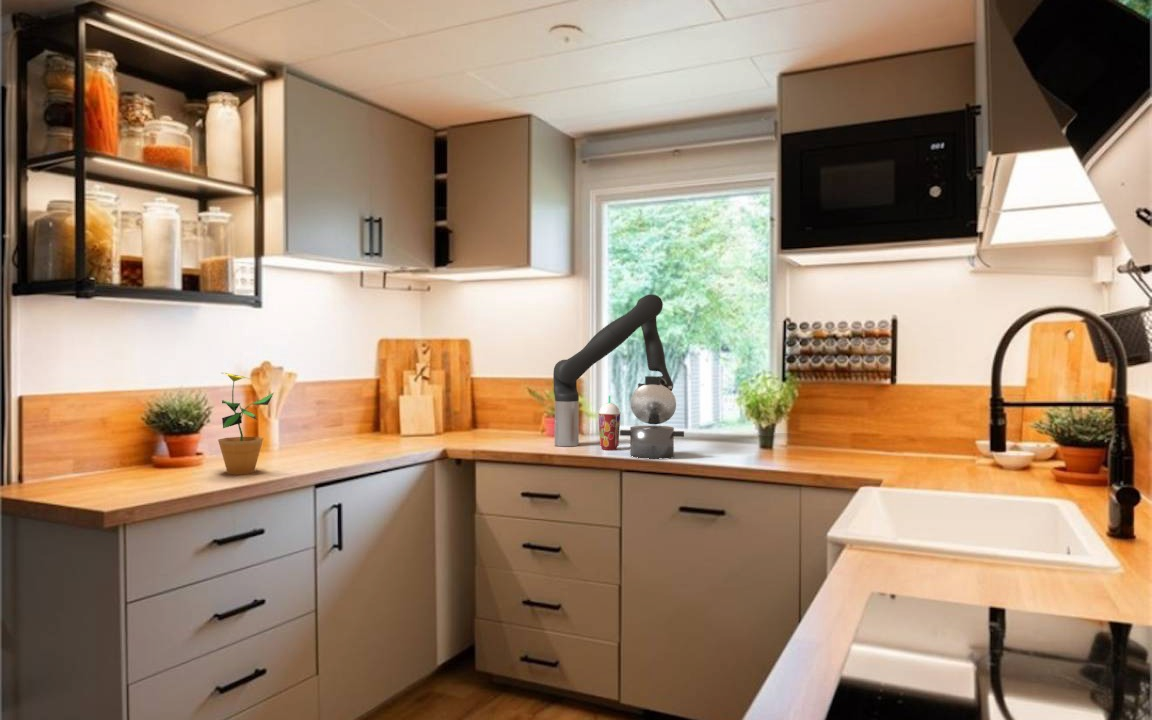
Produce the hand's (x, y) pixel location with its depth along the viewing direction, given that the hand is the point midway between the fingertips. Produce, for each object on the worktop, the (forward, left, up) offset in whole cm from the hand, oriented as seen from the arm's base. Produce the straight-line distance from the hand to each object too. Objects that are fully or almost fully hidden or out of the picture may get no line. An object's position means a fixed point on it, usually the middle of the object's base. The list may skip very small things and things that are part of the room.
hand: (653, 387), depth 272 cm
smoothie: (-15, +15, -24) cm, 32 cm away
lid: (0, 0, -5) cm, 5 cm away
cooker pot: (-1, -4, -24) cm, 24 cm away
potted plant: (-127, -42, -24) cm, 136 cm away
